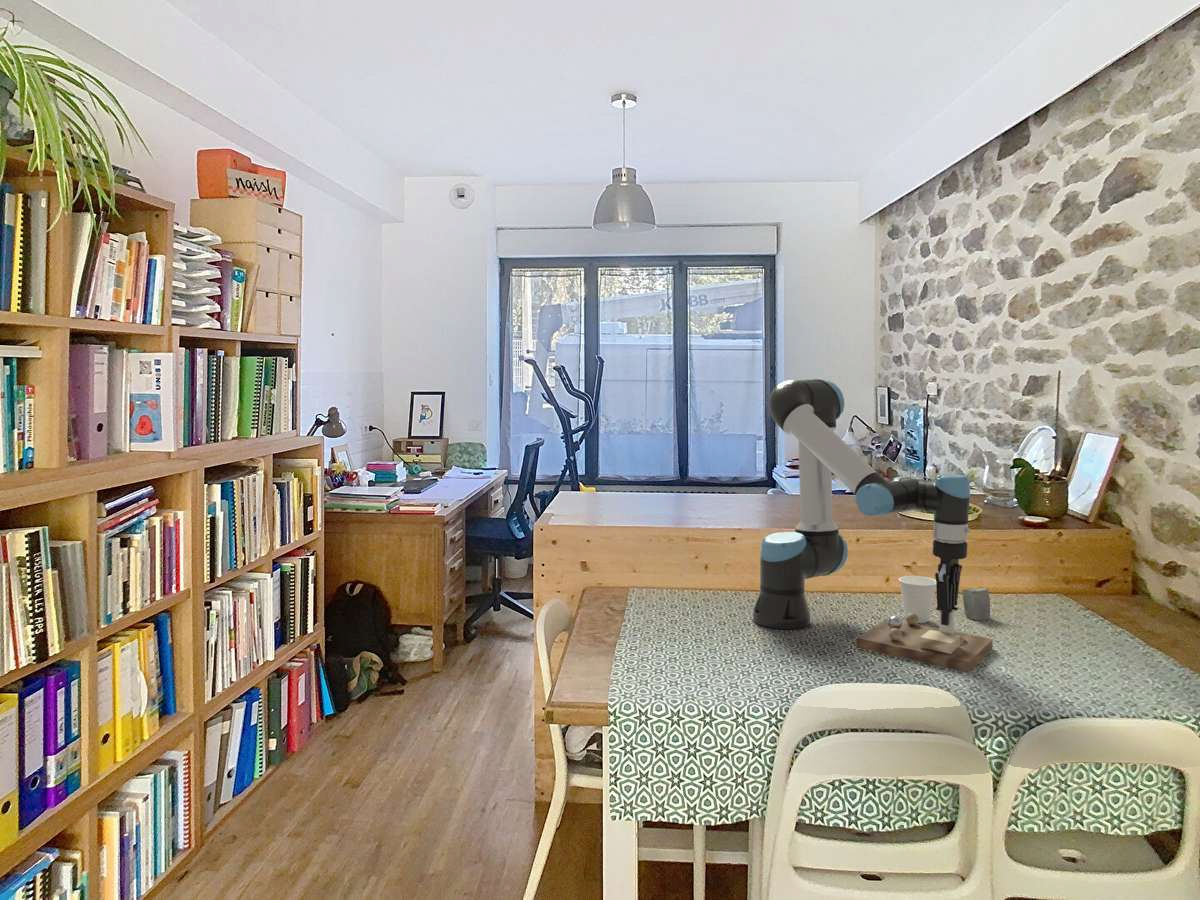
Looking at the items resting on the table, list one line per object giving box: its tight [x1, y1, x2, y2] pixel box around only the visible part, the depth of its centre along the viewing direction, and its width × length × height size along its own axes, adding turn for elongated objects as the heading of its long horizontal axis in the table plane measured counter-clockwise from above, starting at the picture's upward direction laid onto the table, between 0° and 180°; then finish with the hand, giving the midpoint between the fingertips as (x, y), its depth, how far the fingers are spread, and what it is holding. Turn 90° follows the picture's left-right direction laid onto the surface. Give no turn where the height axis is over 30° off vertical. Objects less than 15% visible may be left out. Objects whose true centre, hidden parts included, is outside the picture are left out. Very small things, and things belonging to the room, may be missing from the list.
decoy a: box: [889, 628, 902, 641], centre depth 201 cm, size 3×3×3 cm
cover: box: [920, 630, 960, 654], centre depth 196 cm, size 7×7×2 cm
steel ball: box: [887, 615, 903, 629], centre depth 209 cm, size 4×4×4 cm
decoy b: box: [905, 613, 919, 625], centre depth 213 cm, size 3×3×3 cm
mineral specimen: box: [962, 587, 991, 622], centre depth 229 cm, size 7×9×8 cm
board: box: [855, 618, 993, 673], centre depth 203 cm, size 26×20×2 cm
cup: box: [898, 575, 937, 624], centre depth 225 cm, size 10×10×11 cm
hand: (945, 637), depth 199 cm, fingers closed
